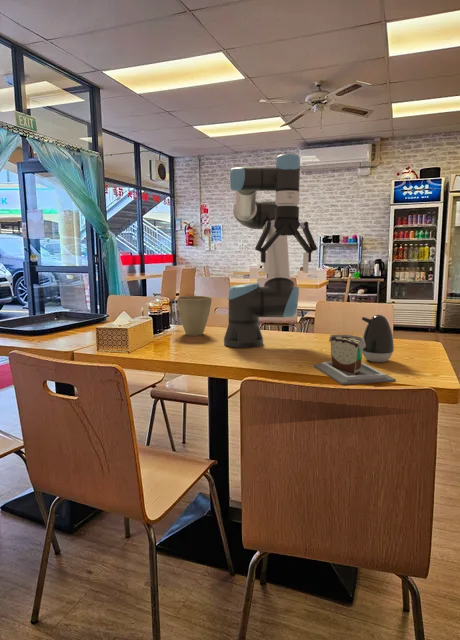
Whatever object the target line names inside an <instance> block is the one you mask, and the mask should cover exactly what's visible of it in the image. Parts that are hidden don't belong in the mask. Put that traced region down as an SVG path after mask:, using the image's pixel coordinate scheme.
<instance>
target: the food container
mask: <svg viewBox="0 0 460 640" xmlns="http://www.w3.org/2000/svg"><path fill="white" fill-rule="evenodd" d="M328 342H329V343H330V357H331V359H330V360H331V361H330V362H331V365H332V367H334V368H336V369H337V370H339V371H342V372H345V373H348V374H351V375H358V374H359V373H360V368H361V362H362V361H363V360H362V358H363V348H365V347H366V344H365V341H364V338H363V336H362V337H361V336H359V335H351V334H330V336H329V340H328Z"/></svg>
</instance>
